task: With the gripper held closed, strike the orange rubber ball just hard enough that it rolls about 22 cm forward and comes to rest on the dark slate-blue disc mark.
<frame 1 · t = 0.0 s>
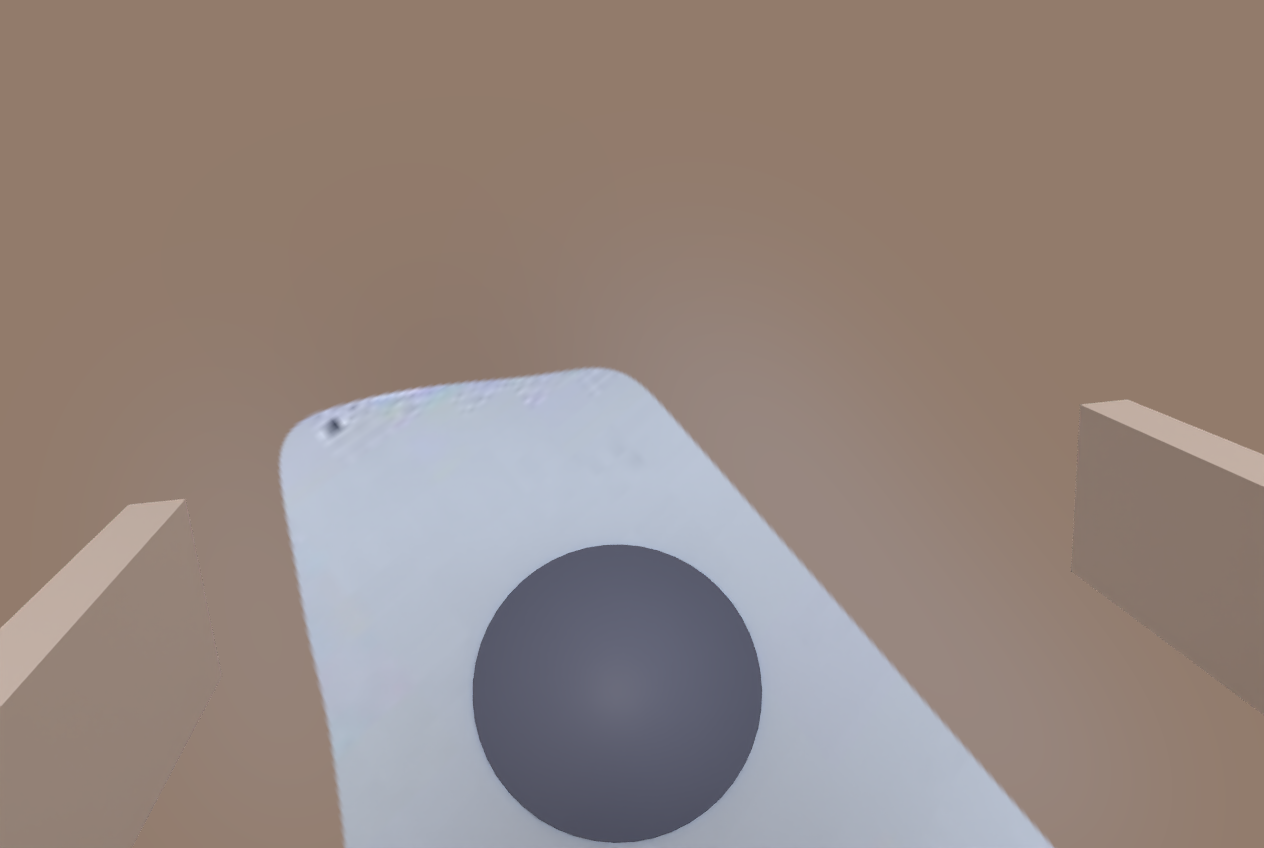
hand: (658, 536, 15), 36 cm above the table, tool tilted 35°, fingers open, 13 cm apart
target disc: (618, 686, 49), on the table
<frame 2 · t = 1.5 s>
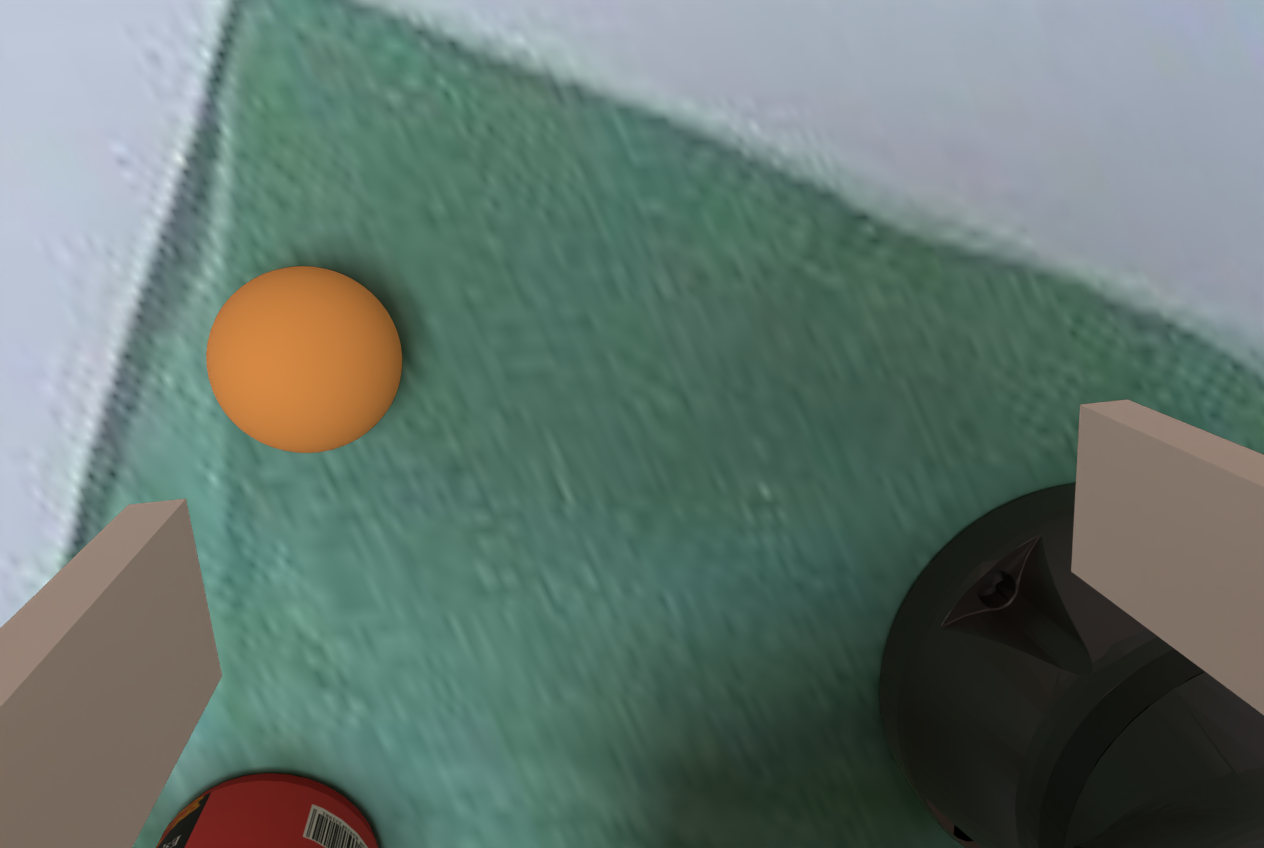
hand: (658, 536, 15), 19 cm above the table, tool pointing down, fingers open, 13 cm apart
ball: (307, 360, 30), on the table
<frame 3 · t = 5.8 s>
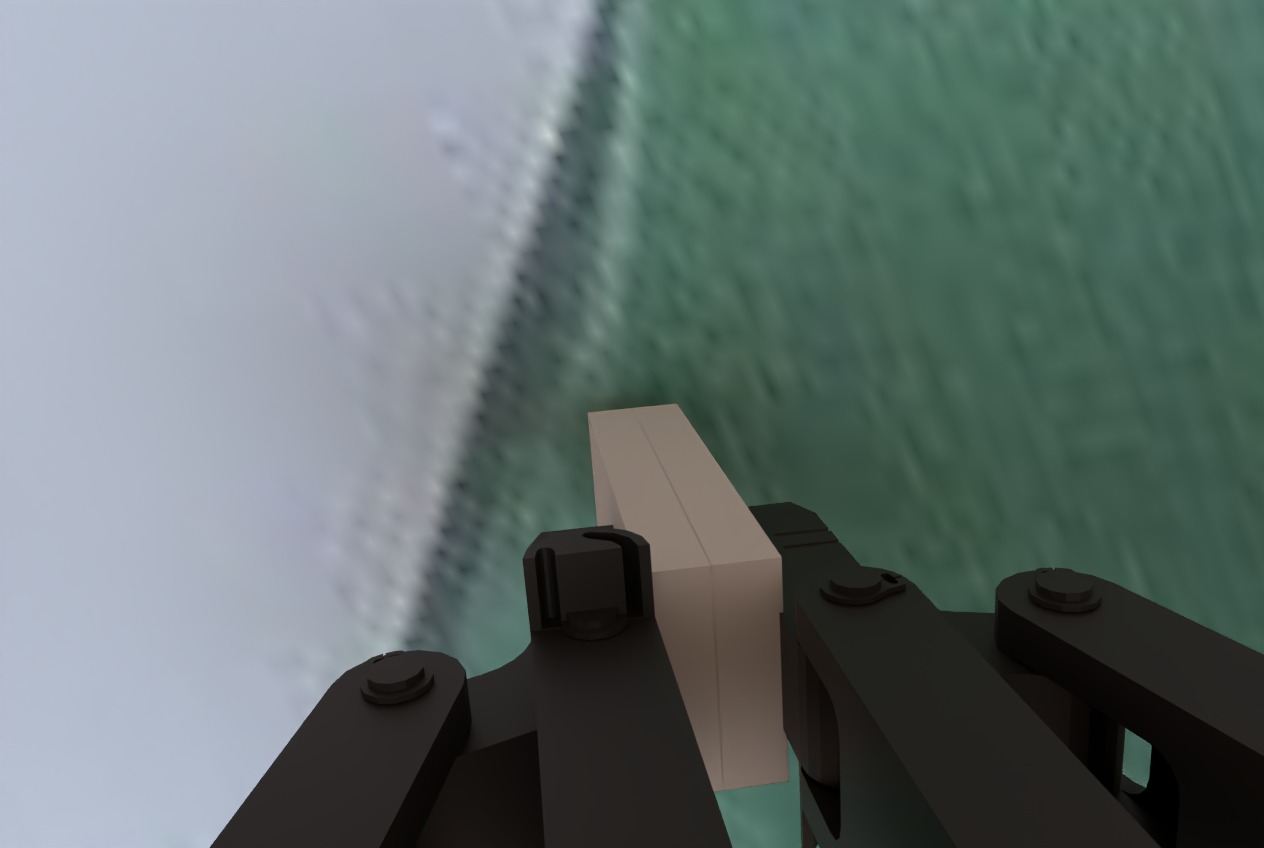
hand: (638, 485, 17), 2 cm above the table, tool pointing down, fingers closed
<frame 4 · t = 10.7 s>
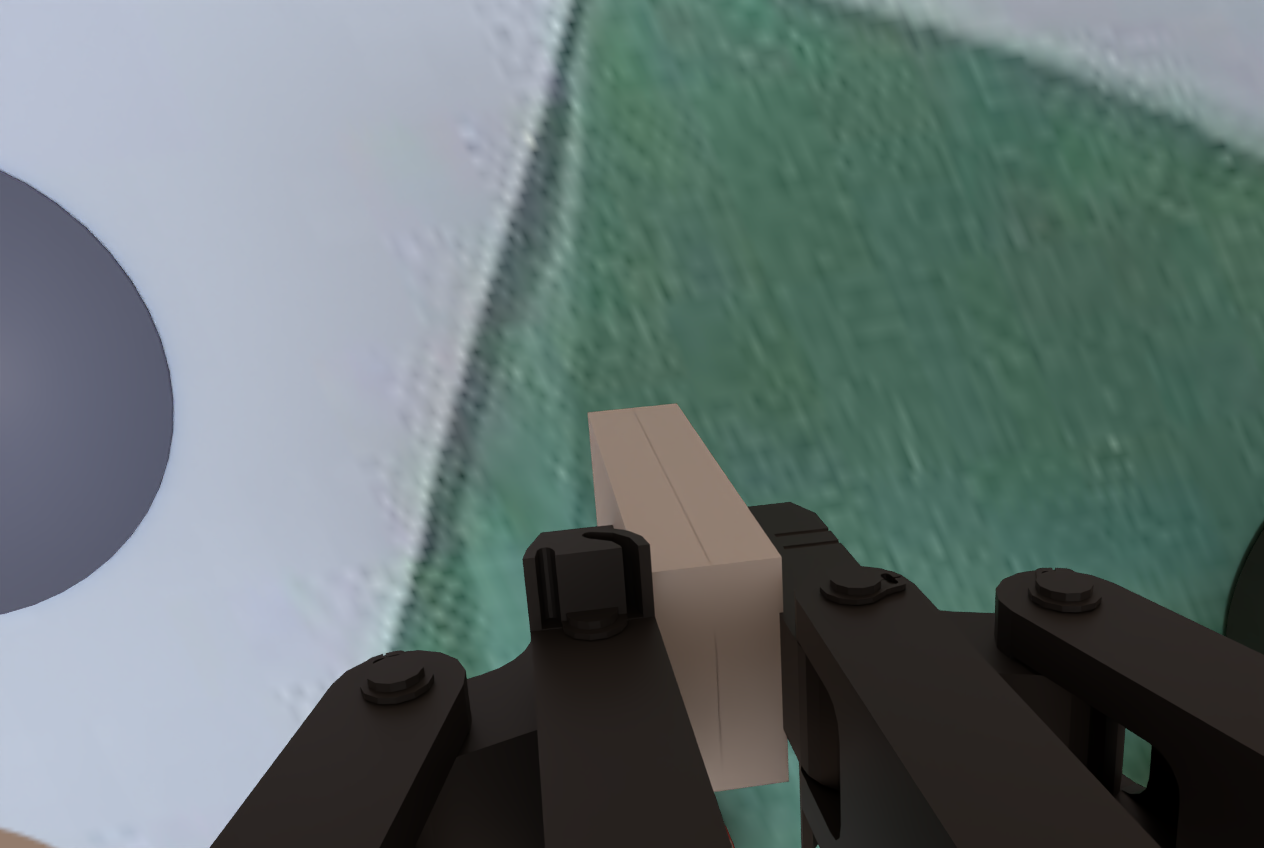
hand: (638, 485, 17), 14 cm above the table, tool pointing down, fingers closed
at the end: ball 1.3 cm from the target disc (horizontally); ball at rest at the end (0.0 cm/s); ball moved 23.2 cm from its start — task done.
